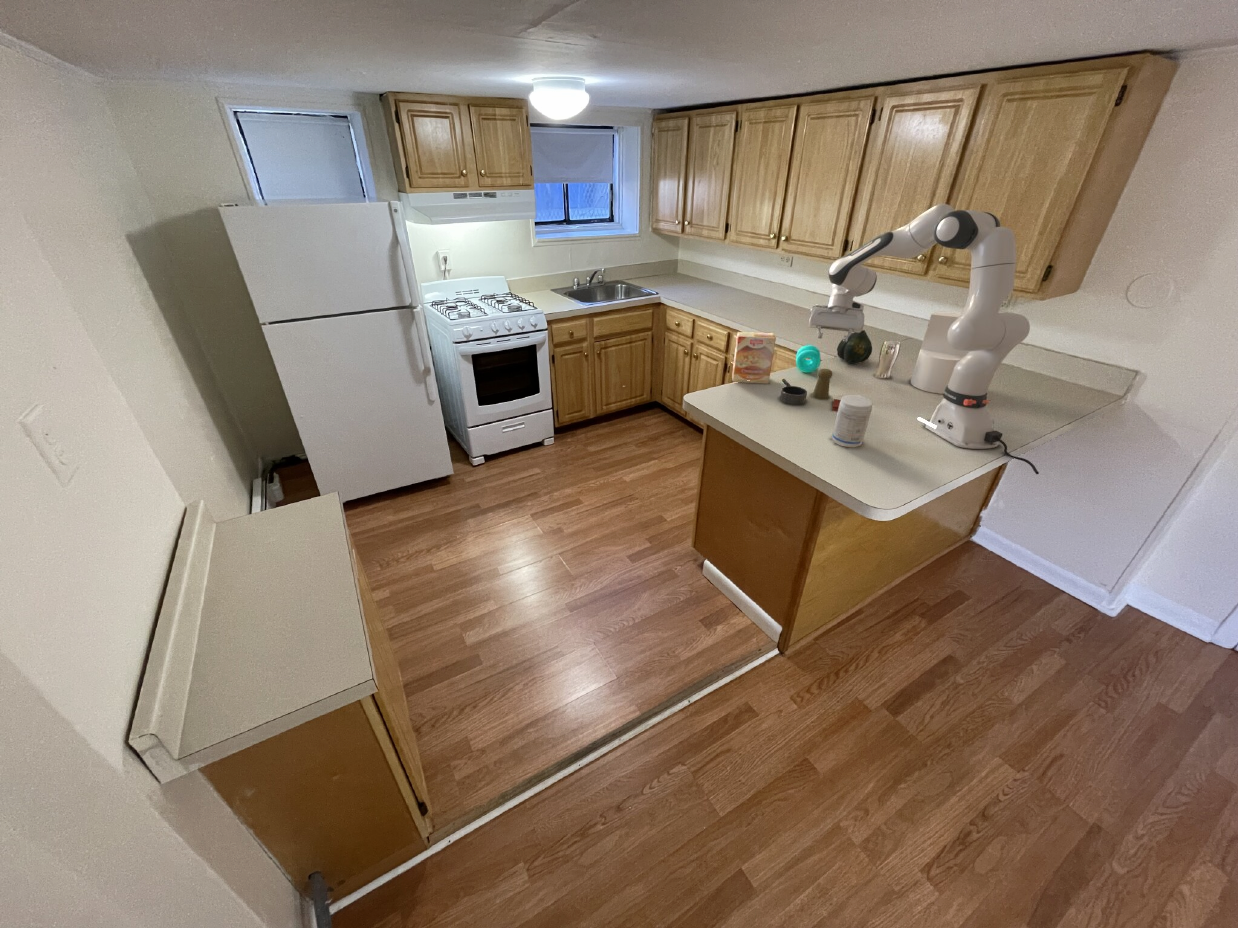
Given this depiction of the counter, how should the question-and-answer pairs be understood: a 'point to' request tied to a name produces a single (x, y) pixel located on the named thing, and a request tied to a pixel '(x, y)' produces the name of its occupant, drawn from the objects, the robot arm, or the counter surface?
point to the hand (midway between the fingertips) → (832, 339)
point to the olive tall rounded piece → (822, 384)
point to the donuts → (808, 352)
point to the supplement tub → (852, 420)
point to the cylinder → (936, 355)
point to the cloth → (836, 404)
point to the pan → (793, 395)
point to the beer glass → (887, 358)
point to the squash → (855, 348)
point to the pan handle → (785, 382)
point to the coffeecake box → (753, 357)
